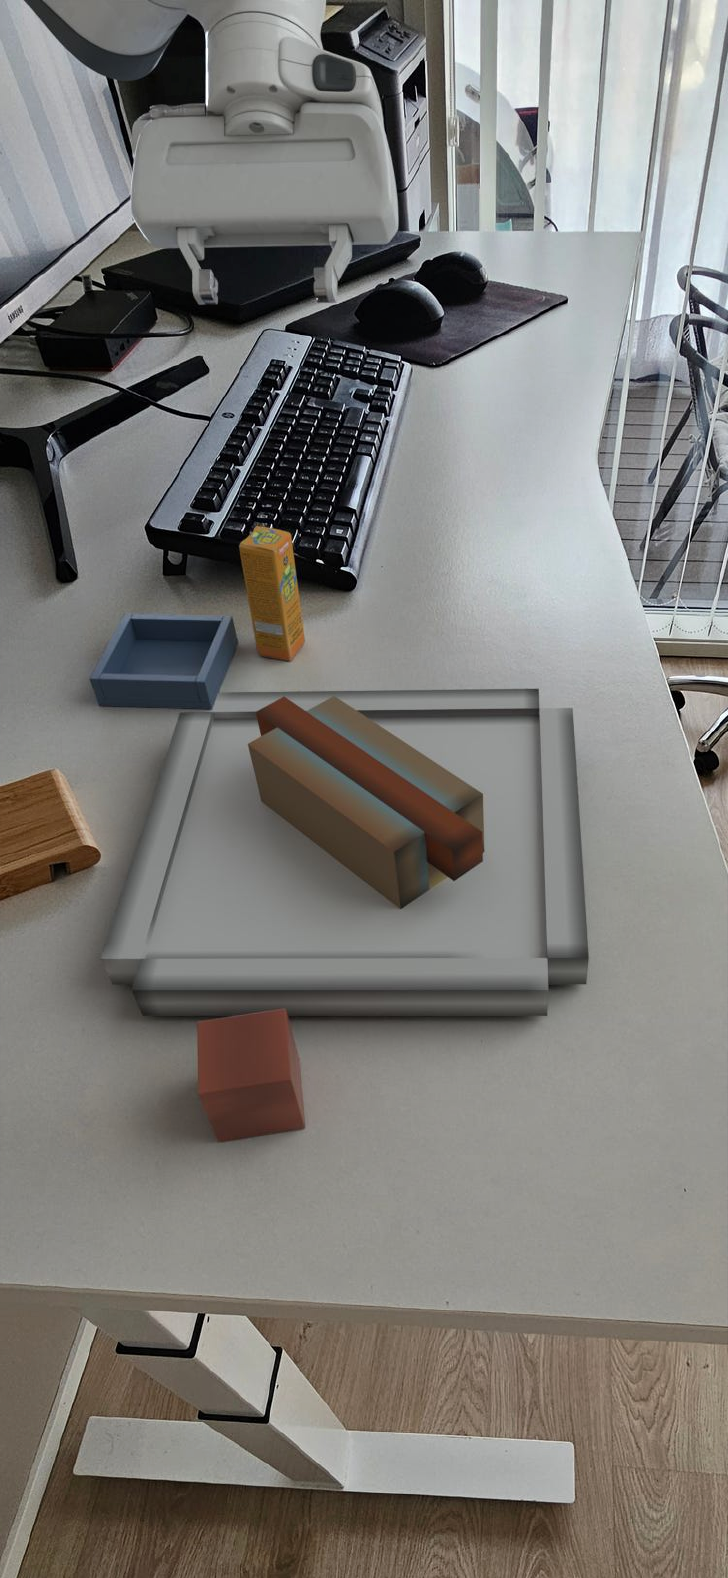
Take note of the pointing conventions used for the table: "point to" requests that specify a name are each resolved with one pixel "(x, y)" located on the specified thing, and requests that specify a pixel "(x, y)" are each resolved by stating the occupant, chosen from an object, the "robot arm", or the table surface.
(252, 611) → the supplement box
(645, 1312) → the table surface
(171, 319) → the table surface
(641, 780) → the table surface
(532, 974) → the grey square tray
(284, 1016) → the rust block
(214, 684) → the blue tray
